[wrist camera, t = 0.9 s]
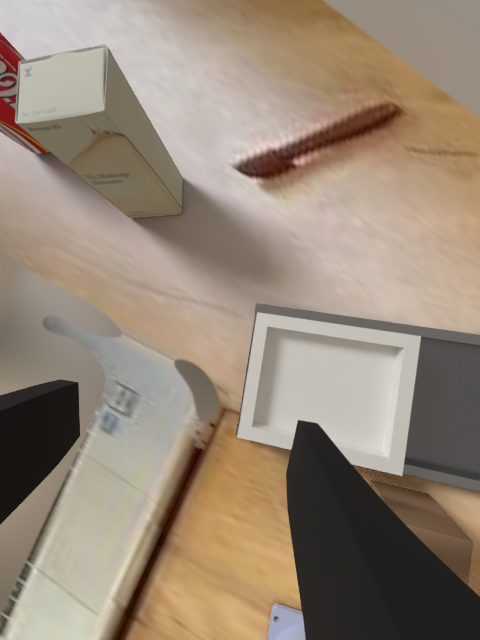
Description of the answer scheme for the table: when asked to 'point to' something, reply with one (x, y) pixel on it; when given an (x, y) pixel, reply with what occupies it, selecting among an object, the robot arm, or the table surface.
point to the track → (430, 398)
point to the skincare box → (98, 129)
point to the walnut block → (429, 525)
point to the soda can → (12, 98)
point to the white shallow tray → (331, 387)
